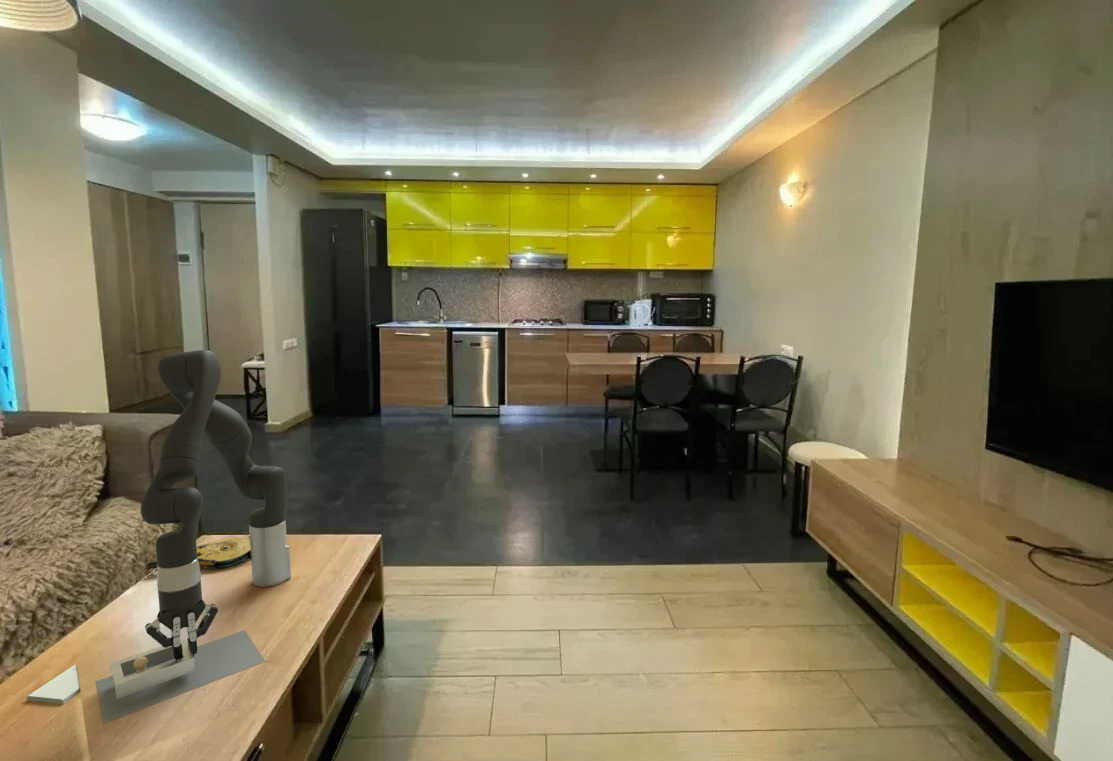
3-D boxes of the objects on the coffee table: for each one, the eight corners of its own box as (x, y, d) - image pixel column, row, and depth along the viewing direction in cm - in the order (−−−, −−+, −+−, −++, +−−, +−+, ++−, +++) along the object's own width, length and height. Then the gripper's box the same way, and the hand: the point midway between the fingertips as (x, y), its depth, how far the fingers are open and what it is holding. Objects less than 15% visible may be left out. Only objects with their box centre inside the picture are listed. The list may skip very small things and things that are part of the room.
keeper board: (245, 634, 138) (243, 605, 137) (265, 666, 126) (263, 635, 125) (96, 686, 119) (92, 653, 118) (104, 729, 107) (100, 693, 106)
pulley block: (149, 542, 173) (261, 527, 186) (151, 559, 175) (262, 543, 187) (139, 569, 161) (259, 551, 173) (141, 587, 163) (261, 568, 175)
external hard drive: (27, 703, 115) (84, 664, 127) (63, 706, 114) (118, 667, 126) (26, 695, 115) (83, 657, 127) (63, 699, 114) (117, 660, 126)
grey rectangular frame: (186, 651, 126) (185, 638, 126) (195, 671, 120) (193, 657, 119) (111, 676, 118) (110, 663, 117) (116, 699, 111) (115, 685, 111)
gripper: (212, 565, 127) (217, 638, 130) (136, 585, 118) (144, 663, 121) (220, 577, 122) (226, 653, 124) (142, 599, 113) (149, 680, 115)
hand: (185, 657), depth 122 cm, fingers closed on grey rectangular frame, 1 cm apart
